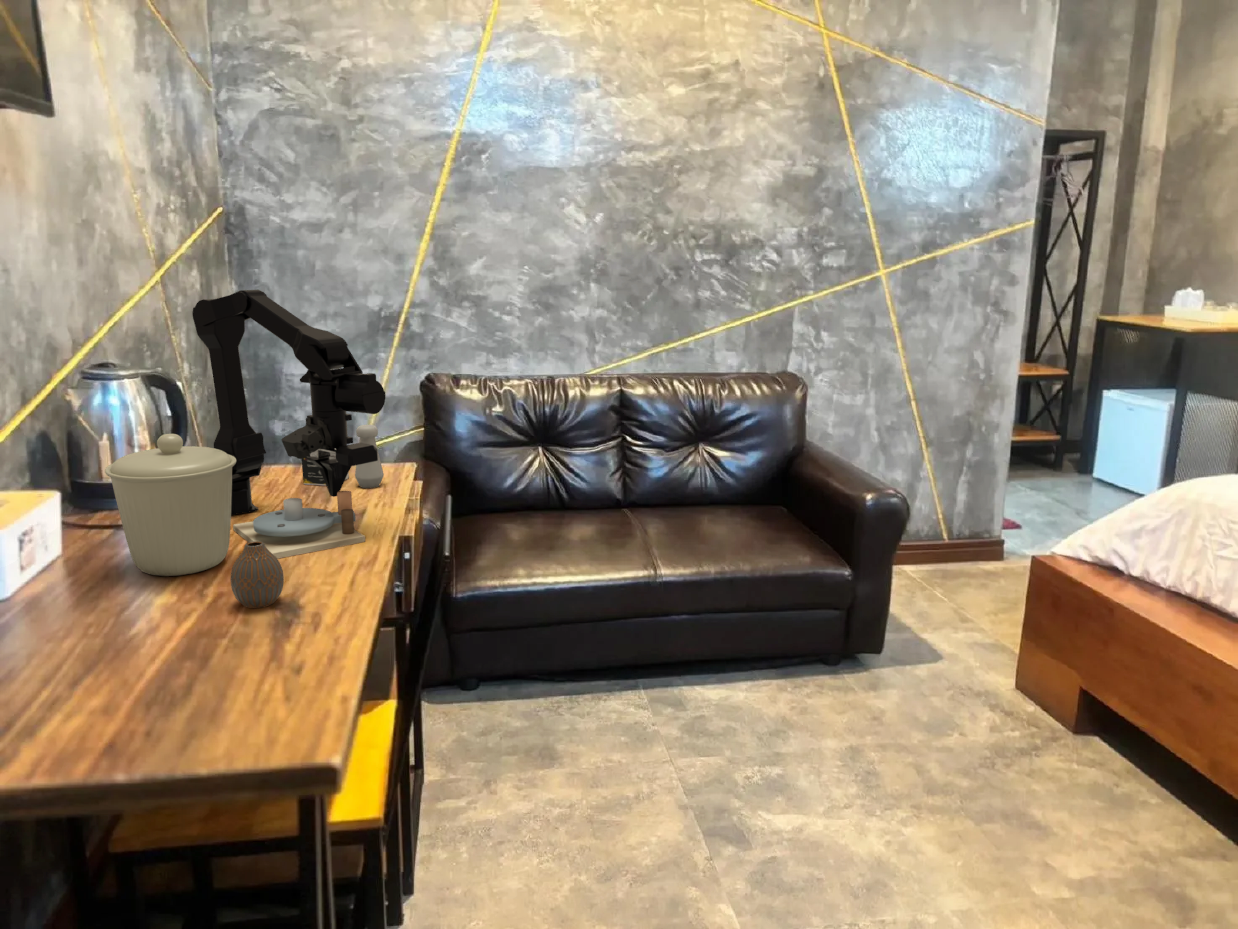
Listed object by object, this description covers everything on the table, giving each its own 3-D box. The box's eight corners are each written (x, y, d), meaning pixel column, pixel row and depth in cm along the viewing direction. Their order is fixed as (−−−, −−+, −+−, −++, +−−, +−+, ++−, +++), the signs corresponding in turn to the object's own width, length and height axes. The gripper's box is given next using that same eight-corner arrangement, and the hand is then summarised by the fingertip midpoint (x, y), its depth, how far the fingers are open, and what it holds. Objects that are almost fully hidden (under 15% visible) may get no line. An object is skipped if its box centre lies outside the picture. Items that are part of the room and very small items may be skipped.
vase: (235, 615, 123) (229, 554, 121) (230, 598, 129) (225, 540, 127) (288, 607, 126) (284, 547, 124) (281, 591, 132) (277, 533, 130)
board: (233, 530, 161) (231, 502, 159) (322, 515, 170) (320, 489, 169) (269, 560, 145) (267, 530, 144) (365, 541, 155) (363, 513, 154)
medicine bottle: (302, 484, 192) (298, 429, 189) (318, 476, 199) (315, 423, 196) (334, 486, 191) (330, 430, 188) (349, 478, 198) (346, 424, 195)
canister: (99, 565, 142) (83, 433, 137) (215, 540, 155) (203, 418, 150) (144, 595, 130) (127, 452, 125) (265, 565, 143) (254, 434, 138)
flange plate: (254, 540, 147) (252, 510, 146) (252, 518, 159) (250, 491, 158) (359, 529, 153) (357, 500, 152) (350, 509, 165) (348, 482, 164)
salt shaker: (379, 489, 189) (376, 428, 186) (352, 489, 189) (348, 427, 186) (387, 482, 194) (384, 423, 192) (360, 482, 195) (357, 422, 192)
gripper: (256, 409, 157) (263, 496, 160) (321, 422, 146) (327, 515, 149) (311, 401, 165) (317, 484, 169) (377, 413, 154) (382, 501, 158)
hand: (334, 496), depth 161 cm, fingers closed
